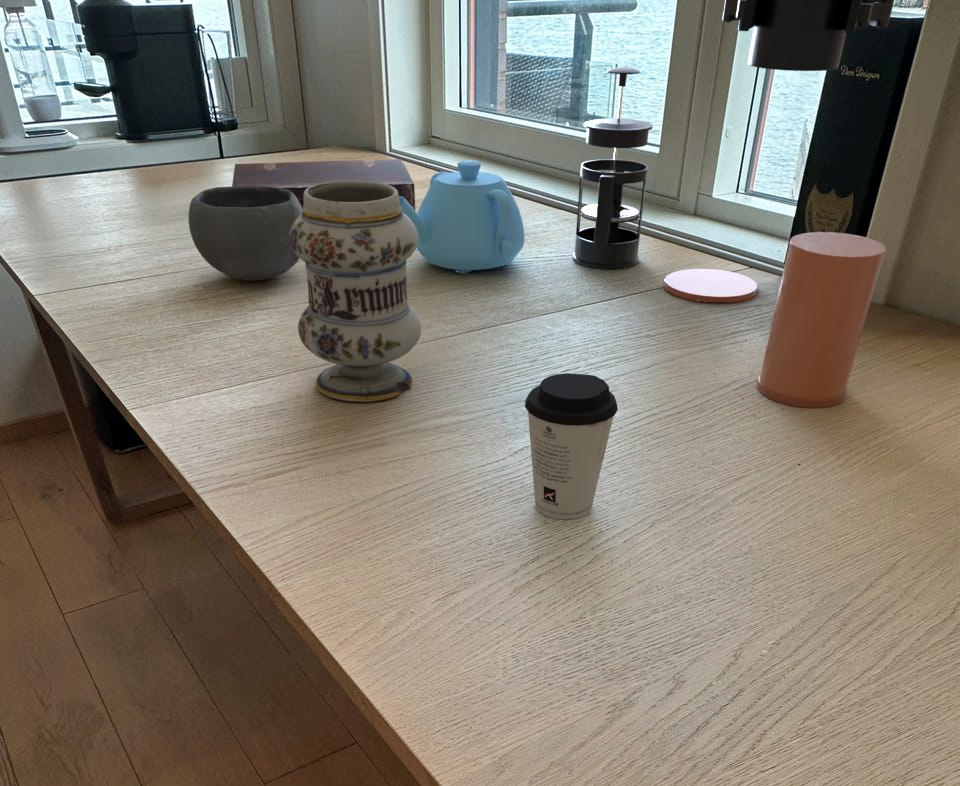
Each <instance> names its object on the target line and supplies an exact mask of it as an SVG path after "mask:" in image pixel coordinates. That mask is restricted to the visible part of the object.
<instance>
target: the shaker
mask: <svg viewBox="0 0 960 786" xmlns="http://www.w3.org/2000/svg"><path fill="white" fill-rule="evenodd" d="M886 251H887V247H886V246H885V245H884V244H883V243H882V242H880V241H878V240H875V239H872V238H870V237H866V236H863V235H858V234H851V233H843V232H833V231H813V232H804V233H800V234H796V235H793V236H792V237H791V238H790V239H789V244H788V248H787V252H786V257H785V262H784V266H783V269H782V270H783V272H782V275H781V280H780V284H779V289H778V293H777V297H776V303H775V307H774V312H773V315H772V316H773V317H772V320H771V325H770V329H769V334H768V338H767V343H766V348H765V353H764V357H763V362H762V366H761V371H760V374H759V376H758V377H757V380H756V381H757V382H756V388H757V390H758V391H759V393H760V394H761V395H763V396H764V397H766V398H768V399H770V400H772V401H774V402H776V403H780V404H783V405H787V406H791V407H797V408H807V409H818V408H820V409H821V408H829V407H832V406H835V405H838V404H840V403H842V402H843V401H844V400H845V398H846V395H847V391H848V383H849V379H850V376H851V372H852V369H853V365H854V362H855V359H856V355H857V352H858V349H859V345H860V341H861V339H862V338H861V337H862V335H863V331H864V327H865V325H866V322H867V321H866V320H867V317H868V314H869V311H870V308H871V307H870V306H871V303H872V300H873V297H874V294H875V290H876V287H877V282H878V279H879V275H880V272H881V268H882V265H883V263H884V258H885V255H886Z"/></svg>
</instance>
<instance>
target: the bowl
mask: <svg viewBox="0 0 960 786" xmlns="http://www.w3.org/2000/svg"><path fill="white" fill-rule="evenodd" d="M301 214H302V207H301V205H300V203H299V201H298V200H297V198H296V196H295V195H294V194H293V193H292V192H291V191H290V190H287V189H282V188H278V187H270V186H232V185H231V186H217V187H212V188H208V189H204V190H202V191H200V192H199V193H197V194H196V195H194V196H193V198H191V200H190V203H189V209H188V228H189V233H190V236H191V238H192V241H193V244H194V247H195V248H196V250H197V251H198V253H199V254H200V256H201V257H202V258H203V259H204V260H205V262H206V263H208V265H210V266H211V267H212V268H214V269H215V270H216V271H218V272H220V273H222V274H224V275H226V276H228V277H230V278H232V279H233V278H234V279H237V280H242V281H251V282H252V281H254V282H256V281H265V280H270V279H272V278H275V277H278V276H281V275H283V274H284V273H286V272H288V271H289V270H291V269H292V268H293V267H294V266H295V265H296V264H297V263H299V261H300V260H301V259H300V258H299V257H298V256H297V255H296V254H295V253H294V251H293V250H292V248H291V245H290V241H289V233H290V229H291V227H292V225H293V223H294V222H295V220H296V219H297V218H298V217H299V216H300V215H301Z"/></svg>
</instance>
